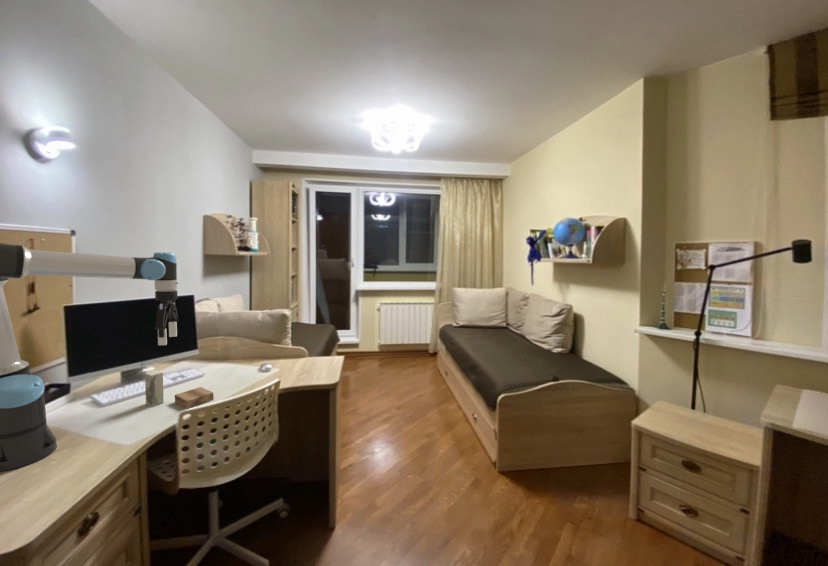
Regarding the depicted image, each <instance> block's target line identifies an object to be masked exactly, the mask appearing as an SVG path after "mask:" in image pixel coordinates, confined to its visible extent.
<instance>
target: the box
mask: <svg viewBox="0 0 828 566" xmlns="http://www.w3.org/2000/svg"><path fill="white" fill-rule="evenodd" d="M144 379H145V381H144V382H145V404H146V405H148V406H151V407H155V406H158V405H161V404H164V372H163V371H160V370H157V369H156V370H152V371H147V372H145V373H144Z"/></svg>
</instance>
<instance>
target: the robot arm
mask: <svg viewBox="0 0 828 566" xmlns="http://www.w3.org/2000/svg"><path fill="white" fill-rule="evenodd" d="M177 265H178V263H177V256H176V254H175V253H173V252H154V253H153V256H151V257H138V256H137V257H133V256H132V257H129V256H117V255H107V254H105V255H104V254H91V253H80V252H79V253H78V252H67V251H65V252H64V251H51V250H42V249H41V250H39V249H29V248H27V247H26V246H25V245H20V244H10V243H4V242H0V472H6V471H11V470H15V469H18V468H21V467H25V466H28V465H31V464H33V463H36V462H38V461H40V460H43V459H44V458H46V457H48V456H49V455H51V454H52V453H54V451H55V450H56V449H57V447H58V444H57V439H56V436H55V435H54V434H53V432H52V430H51V429H50V427H49V426H48V424H47V413H46V412H47V409H46V401H45V400H46V398H45V388H46V386H45V384H44V381H43V378H41V377H40V376H39V375H35V374H32V370H31V367H30V363H29V361H25V360H24V359H23V360H22V359H21V356H20V352H19V349H18V343H17V340H16V336H15V332H14V328H13V324H12V323H13V322H12V320H11V315H10V311H9V307H8V304H7V300H6V296H5V291H4V285H5V284H7V283H8V282H9V279H22V278H24V277H25V276H41V277H42V276H44V277H45V276H46V277H47V276H48V277H72V278H73V277H75V278H99V279H100V278H102V279H103V278H104V279H106V278H107V279H131V280H132V279H133V280H147V281H154V290H155V291H154V294H155V295H154V297H155V301H160V303H158V304H157V312H156V320H155V327H154V330H157V346H167V344H168V338H167V328H166V327H167V323H168V337H169V338H173V337H174V338H175V337H177V336H178V327H177V326H178V325H177V324H178V323H177V322H179V321H180V319H179V315H178V311H177V306H176V300H178V291H177V289H178V285H179V281H178V277H177V276H178V274H177V273H178V271H177V269H178V268H177ZM168 320H169V322H168Z"/></svg>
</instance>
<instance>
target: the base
mask: <svg viewBox="0 0 828 566" xmlns="http://www.w3.org/2000/svg"><path fill="white" fill-rule="evenodd" d="M213 400H214V392H212V391H211V390H208V389H206V388H204V387H201V386H199V387H196V388H193V389H189V390H186V391H183V392H180V393H176V394H174V402H175V403H176V404H178V405H180V406H182V407H184V408H186V409H190V408H193V407H197V406H199V405H201V404H202V405H203V404H205V403H208V402H211V401H213Z"/></svg>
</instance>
